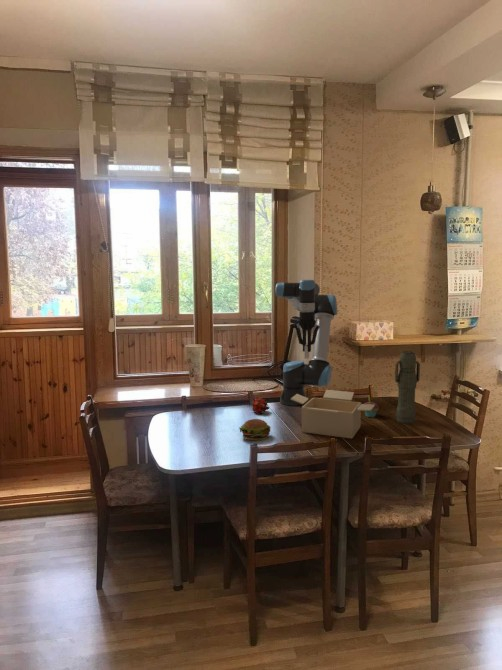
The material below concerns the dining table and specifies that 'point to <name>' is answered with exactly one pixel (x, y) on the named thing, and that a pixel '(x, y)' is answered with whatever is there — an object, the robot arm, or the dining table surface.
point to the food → (255, 429)
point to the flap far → (338, 395)
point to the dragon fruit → (259, 405)
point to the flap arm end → (299, 399)
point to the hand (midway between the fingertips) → (306, 358)
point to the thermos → (406, 386)
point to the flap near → (324, 410)
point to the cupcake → (374, 410)
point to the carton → (331, 418)
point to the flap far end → (365, 407)
